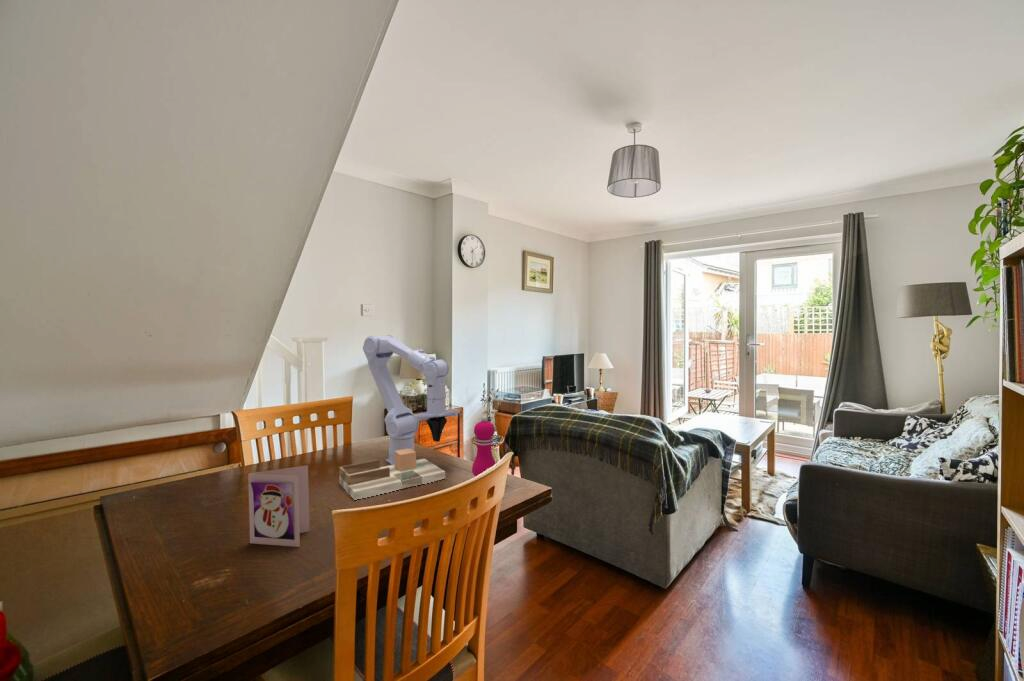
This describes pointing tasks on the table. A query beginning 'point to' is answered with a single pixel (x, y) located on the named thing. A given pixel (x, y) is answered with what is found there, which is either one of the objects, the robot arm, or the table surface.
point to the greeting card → (279, 506)
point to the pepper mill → (483, 446)
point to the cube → (405, 459)
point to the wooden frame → (364, 476)
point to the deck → (395, 480)
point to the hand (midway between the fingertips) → (436, 440)
